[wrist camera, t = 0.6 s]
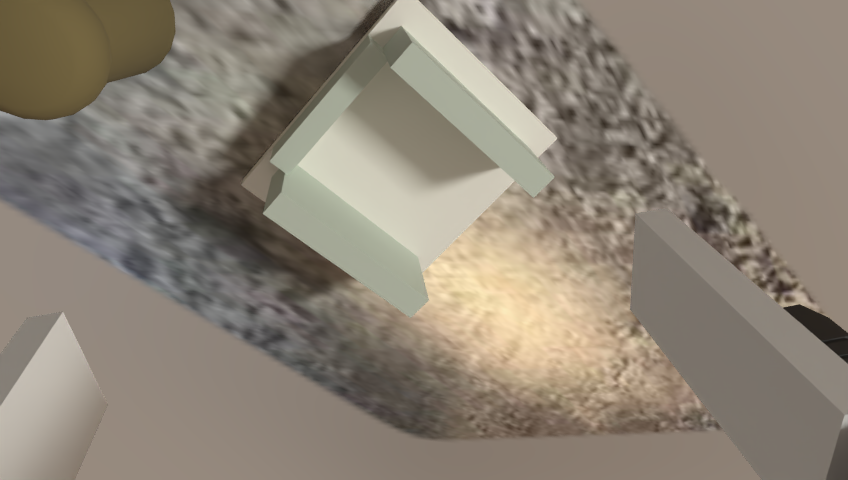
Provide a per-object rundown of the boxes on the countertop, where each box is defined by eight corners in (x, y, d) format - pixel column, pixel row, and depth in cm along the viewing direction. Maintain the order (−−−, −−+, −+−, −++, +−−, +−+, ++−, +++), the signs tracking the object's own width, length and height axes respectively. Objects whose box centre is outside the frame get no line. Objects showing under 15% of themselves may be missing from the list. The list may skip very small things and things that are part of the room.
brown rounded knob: (169, 88, 33) (100, 157, 23) (45, 60, 32) (-83, 121, 22) (181, -30, 30) (110, -9, 21) (47, -67, 29) (-97, -62, 19)
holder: (243, 178, 36) (227, 223, 30) (404, -13, 32) (418, -1, 27) (396, 289, 40) (405, 344, 35) (552, 133, 37) (588, 168, 32)
